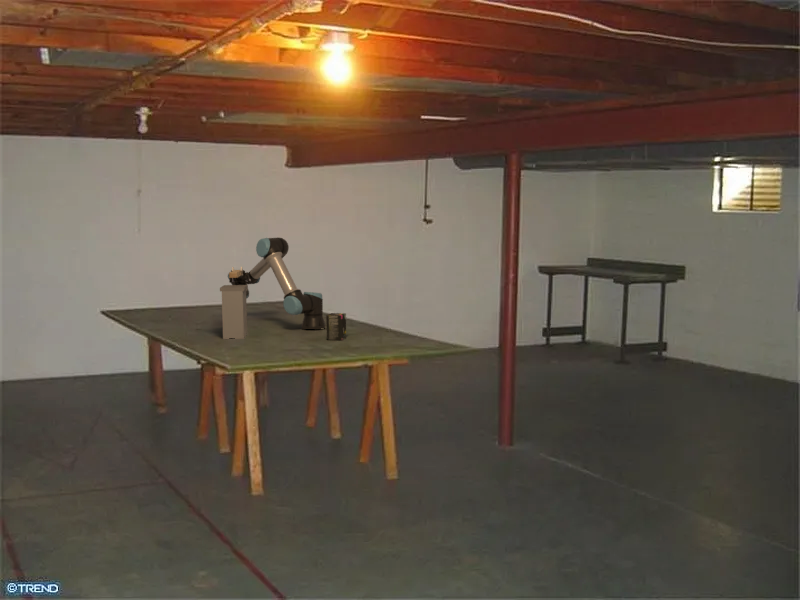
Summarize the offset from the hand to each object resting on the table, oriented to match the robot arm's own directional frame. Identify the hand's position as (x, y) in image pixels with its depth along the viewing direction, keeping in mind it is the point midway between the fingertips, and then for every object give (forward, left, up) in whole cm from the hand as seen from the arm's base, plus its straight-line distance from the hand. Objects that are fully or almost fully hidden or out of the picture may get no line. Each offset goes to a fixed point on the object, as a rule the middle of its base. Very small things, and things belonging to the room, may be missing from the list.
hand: (237, 268), depth 552 cm
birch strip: (0, +6, -4) cm, 7 cm away
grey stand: (-1, +26, -39) cm, 46 cm away
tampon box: (-61, +41, -39) cm, 83 cm away
